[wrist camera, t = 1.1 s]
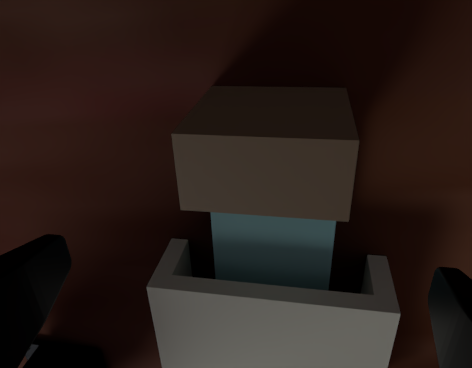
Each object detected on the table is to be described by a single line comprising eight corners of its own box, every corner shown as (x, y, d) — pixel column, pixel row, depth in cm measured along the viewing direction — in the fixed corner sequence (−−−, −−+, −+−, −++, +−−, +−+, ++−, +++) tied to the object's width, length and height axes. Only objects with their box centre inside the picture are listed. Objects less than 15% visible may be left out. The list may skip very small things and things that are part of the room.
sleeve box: (362, 374, 26) (370, 438, 22) (187, 351, 28) (169, 406, 24) (386, 256, 21) (400, 313, 17) (171, 238, 23) (146, 286, 19)
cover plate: (319, 336, 25) (320, 434, 20) (227, 325, 26) (205, 415, 21) (346, 87, 17) (359, 140, 12) (212, 85, 18) (171, 133, 13)
